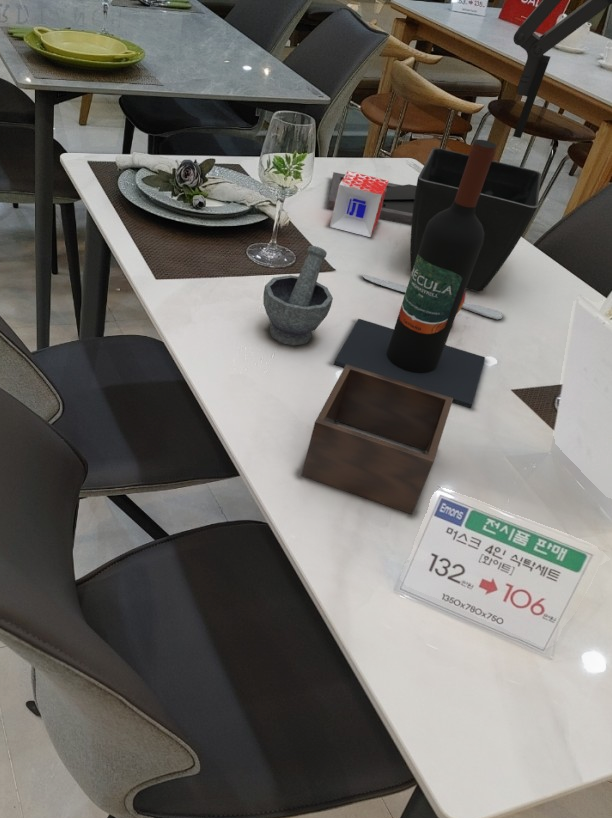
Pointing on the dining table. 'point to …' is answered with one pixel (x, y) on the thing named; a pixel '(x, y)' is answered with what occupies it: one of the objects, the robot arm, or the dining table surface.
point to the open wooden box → (370, 457)
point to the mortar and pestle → (297, 301)
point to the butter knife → (471, 307)
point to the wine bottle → (441, 272)
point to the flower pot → (477, 207)
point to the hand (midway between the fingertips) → (588, 151)
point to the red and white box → (358, 203)
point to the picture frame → (385, 200)
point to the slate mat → (449, 377)
